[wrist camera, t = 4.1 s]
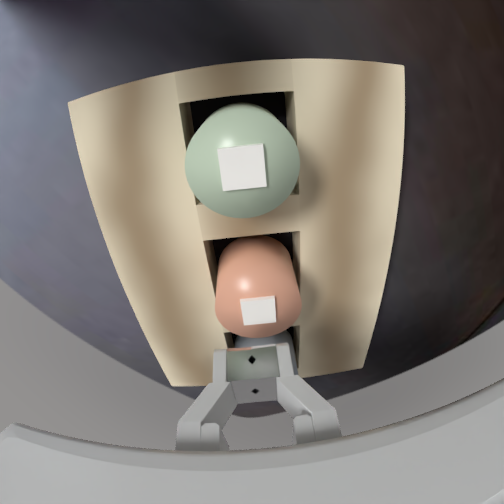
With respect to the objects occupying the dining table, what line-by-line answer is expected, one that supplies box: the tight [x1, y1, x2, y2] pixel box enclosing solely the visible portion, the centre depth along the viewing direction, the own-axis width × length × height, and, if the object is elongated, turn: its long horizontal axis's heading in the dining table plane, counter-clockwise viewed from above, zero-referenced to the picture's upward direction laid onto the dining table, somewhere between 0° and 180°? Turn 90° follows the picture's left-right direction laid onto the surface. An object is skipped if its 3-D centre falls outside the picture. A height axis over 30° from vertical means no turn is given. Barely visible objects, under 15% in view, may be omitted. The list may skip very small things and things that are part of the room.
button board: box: [68, 59, 405, 386], centre depth 18 cm, size 16×22×3 cm
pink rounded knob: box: [215, 235, 302, 338], centre depth 16 cm, size 4×4×4 cm
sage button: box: [185, 102, 300, 218], centre depth 12 cm, size 4×4×4 cm
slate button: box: [235, 330, 298, 375], centre depth 20 cm, size 4×4×4 cm
